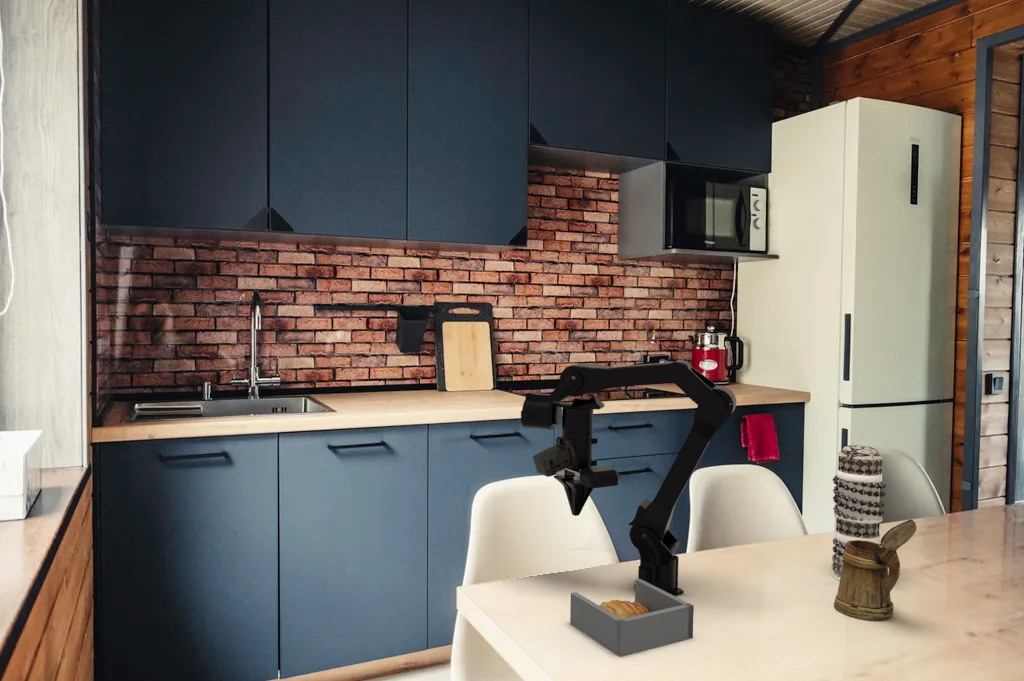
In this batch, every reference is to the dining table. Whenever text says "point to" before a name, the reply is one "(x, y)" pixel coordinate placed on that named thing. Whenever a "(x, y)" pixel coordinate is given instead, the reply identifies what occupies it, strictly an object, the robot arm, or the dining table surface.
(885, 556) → the wooden mug
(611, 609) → the pastry
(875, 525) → the decorative candle
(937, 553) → the dining table surface
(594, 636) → the box
